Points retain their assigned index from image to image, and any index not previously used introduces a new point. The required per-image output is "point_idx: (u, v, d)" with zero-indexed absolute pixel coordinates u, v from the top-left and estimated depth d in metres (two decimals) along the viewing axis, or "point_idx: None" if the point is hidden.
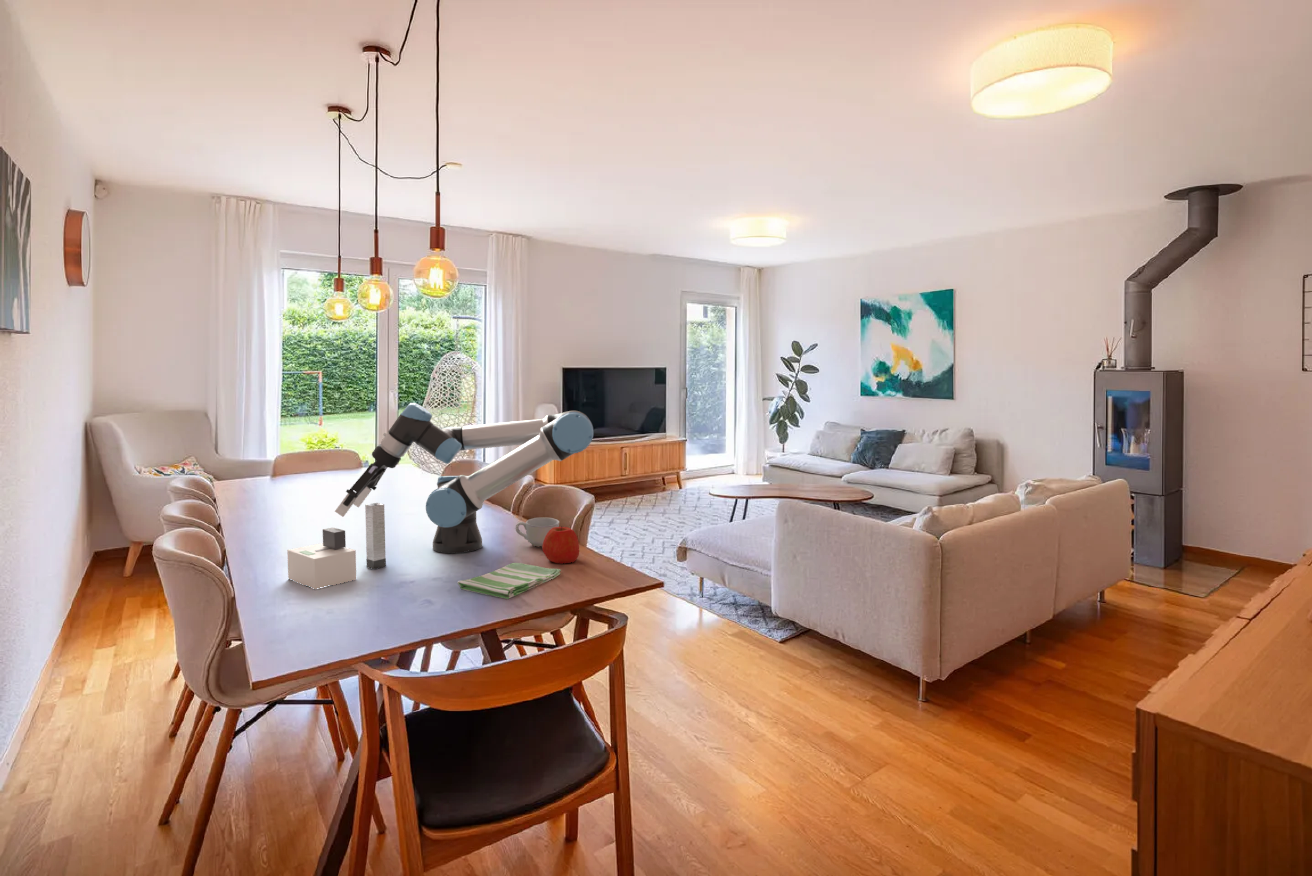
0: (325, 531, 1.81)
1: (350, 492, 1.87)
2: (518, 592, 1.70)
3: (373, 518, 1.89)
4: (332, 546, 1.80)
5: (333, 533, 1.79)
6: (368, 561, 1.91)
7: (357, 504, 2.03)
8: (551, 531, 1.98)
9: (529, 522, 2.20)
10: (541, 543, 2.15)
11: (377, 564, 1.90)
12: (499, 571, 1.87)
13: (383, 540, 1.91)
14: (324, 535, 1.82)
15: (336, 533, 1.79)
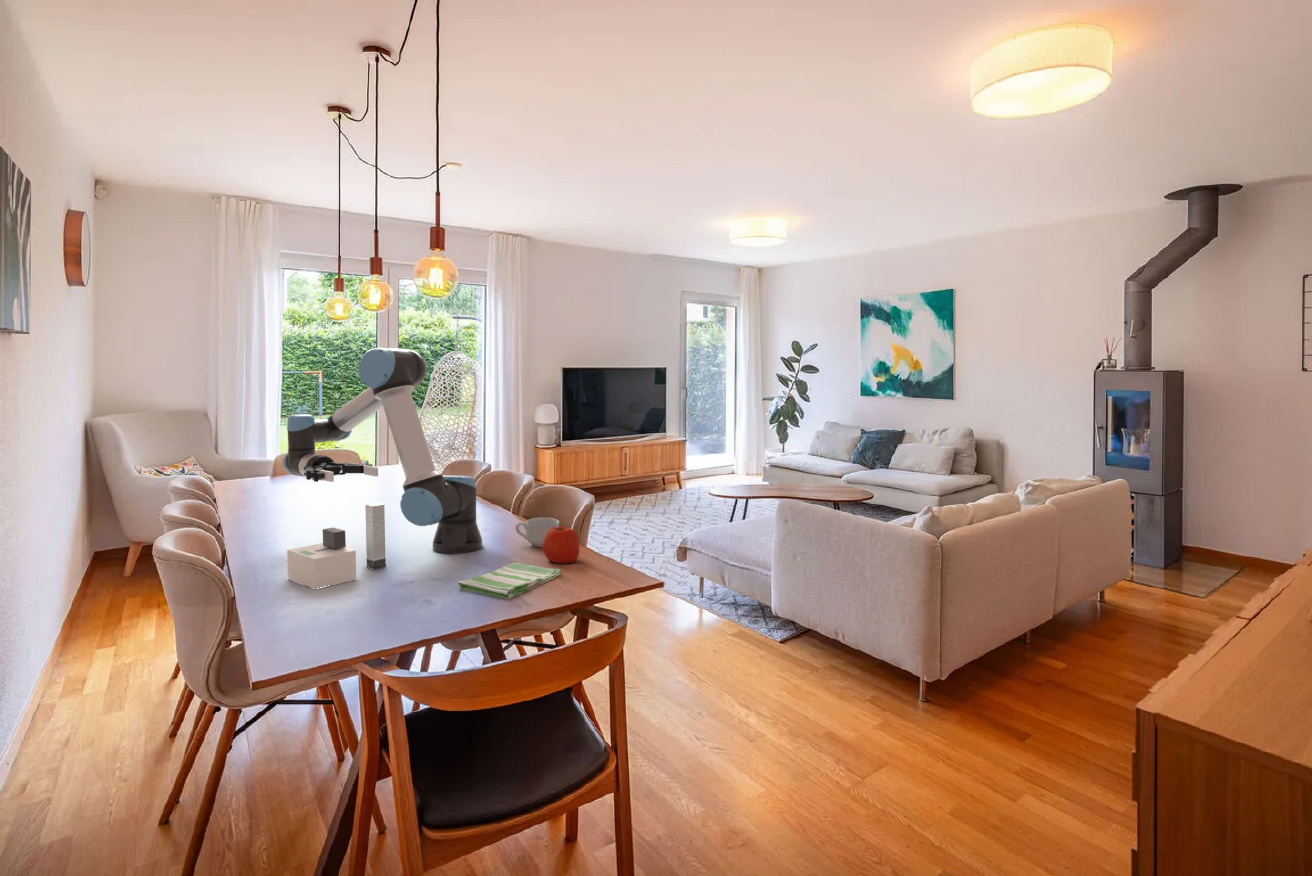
0: (325, 531, 1.81)
1: (306, 477, 1.92)
2: (518, 592, 1.70)
3: (373, 518, 1.89)
4: (332, 546, 1.80)
5: (333, 533, 1.79)
6: (368, 561, 1.91)
7: (374, 469, 2.01)
8: (551, 531, 1.98)
9: (529, 522, 2.20)
10: (541, 543, 2.15)
11: (376, 564, 1.90)
12: (499, 571, 1.87)
13: (383, 540, 1.91)
14: (324, 535, 1.82)
15: (336, 533, 1.79)
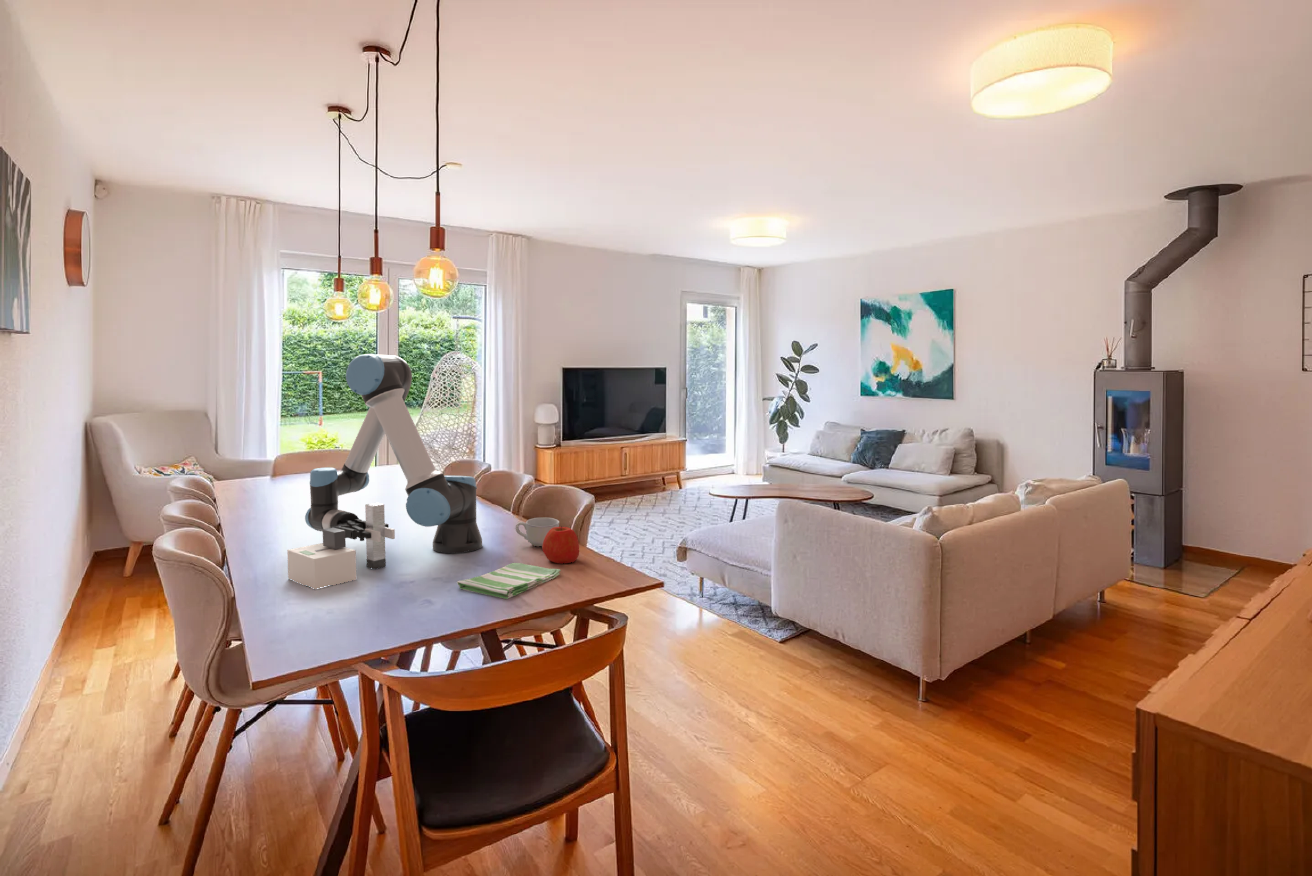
0: (325, 531, 1.81)
1: (352, 536, 1.88)
2: (517, 592, 1.70)
3: (373, 518, 1.89)
4: (332, 546, 1.80)
5: (333, 533, 1.79)
6: (368, 561, 1.91)
7: (390, 531, 1.90)
8: (551, 531, 1.98)
9: (529, 522, 2.20)
10: (541, 543, 2.15)
11: (376, 564, 1.90)
12: (499, 571, 1.87)
13: (383, 540, 1.91)
14: (324, 535, 1.82)
15: (336, 533, 1.79)
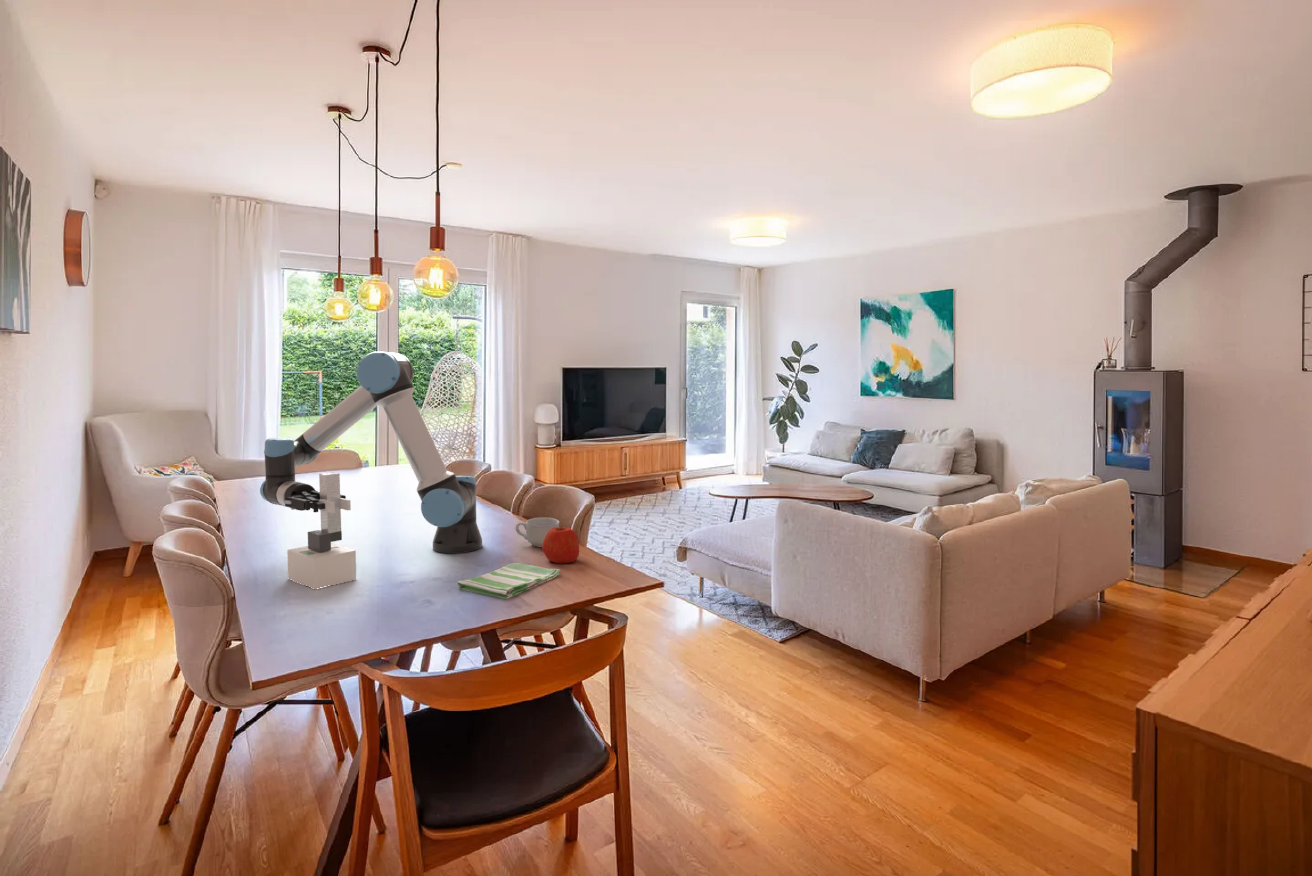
0: (310, 534, 1.78)
1: (305, 507, 1.77)
2: (517, 592, 1.70)
3: (327, 488, 1.77)
4: (317, 549, 1.76)
5: (318, 536, 1.75)
6: None
7: (346, 502, 1.79)
8: (551, 531, 1.98)
9: (529, 522, 2.20)
10: (541, 543, 2.15)
11: (331, 536, 1.79)
12: (499, 571, 1.87)
13: (338, 512, 1.80)
14: (309, 538, 1.78)
15: (321, 535, 1.76)
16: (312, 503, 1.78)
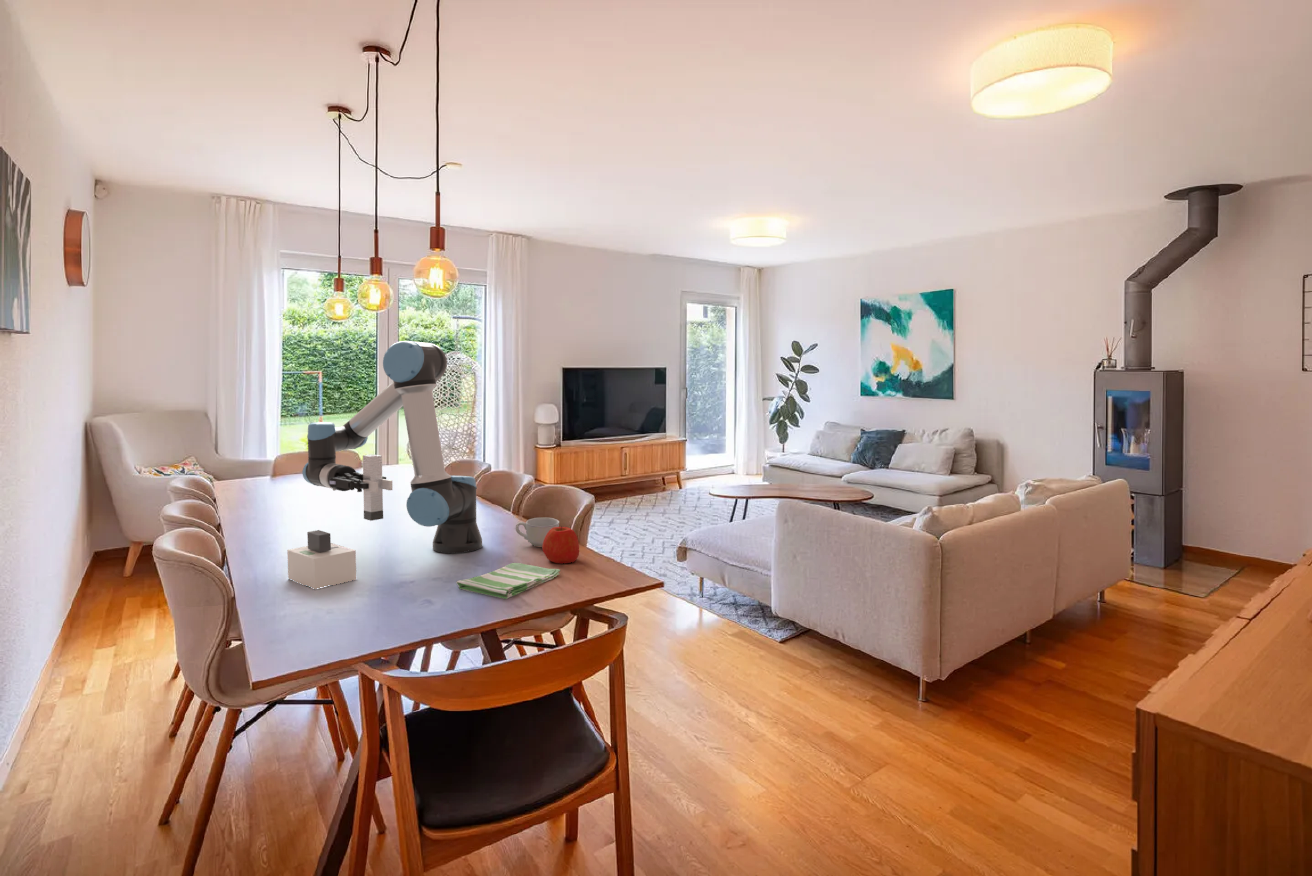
0: (310, 534, 1.78)
1: (350, 487, 1.87)
2: (516, 592, 1.70)
3: (370, 469, 1.87)
4: (316, 549, 1.76)
5: (318, 536, 1.75)
6: (365, 512, 1.90)
7: (388, 483, 1.89)
8: (551, 531, 1.98)
9: (529, 522, 2.20)
10: (541, 543, 2.15)
11: (374, 515, 1.89)
12: (498, 571, 1.87)
13: (380, 492, 1.90)
14: (308, 538, 1.78)
15: (321, 535, 1.76)
16: (356, 483, 1.88)
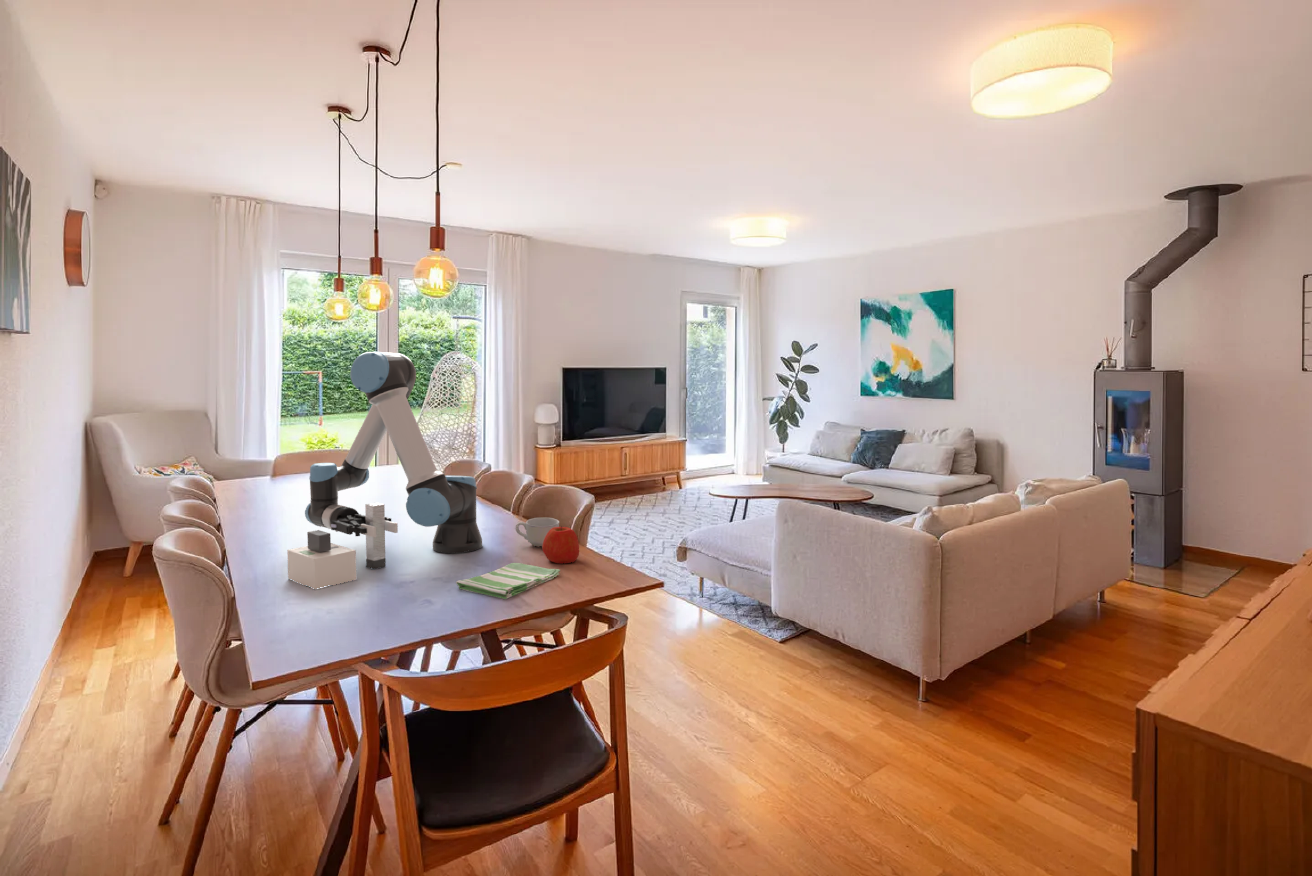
0: (310, 534, 1.78)
1: (348, 531, 1.87)
2: (516, 592, 1.70)
3: (373, 518, 1.89)
4: (316, 549, 1.76)
5: (318, 536, 1.75)
6: (368, 561, 1.91)
7: (393, 525, 1.91)
8: (551, 531, 1.98)
9: (529, 522, 2.20)
10: (541, 543, 2.15)
11: (376, 563, 1.90)
12: (498, 571, 1.87)
13: (383, 540, 1.92)
14: (308, 538, 1.78)
15: (321, 535, 1.76)
16: (354, 528, 1.88)
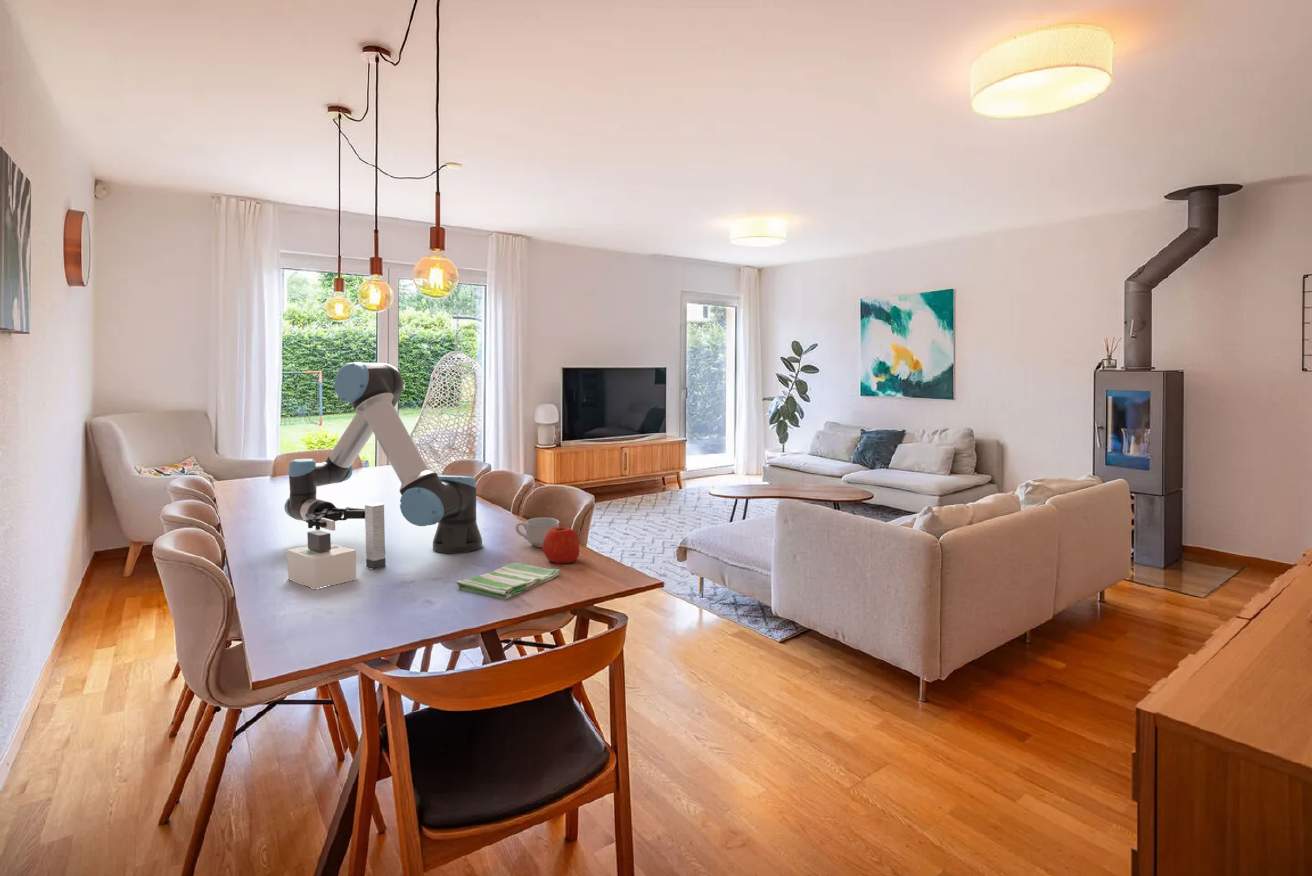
0: (310, 534, 1.78)
1: (308, 525, 1.93)
2: (516, 592, 1.70)
3: (373, 518, 1.89)
4: (316, 549, 1.76)
5: (318, 536, 1.75)
6: (368, 561, 1.91)
7: None
8: (551, 531, 1.98)
9: (529, 522, 2.20)
10: (541, 543, 2.15)
11: (376, 564, 1.90)
12: (498, 571, 1.87)
13: (383, 540, 1.92)
14: (308, 538, 1.78)
15: (321, 535, 1.76)
16: None
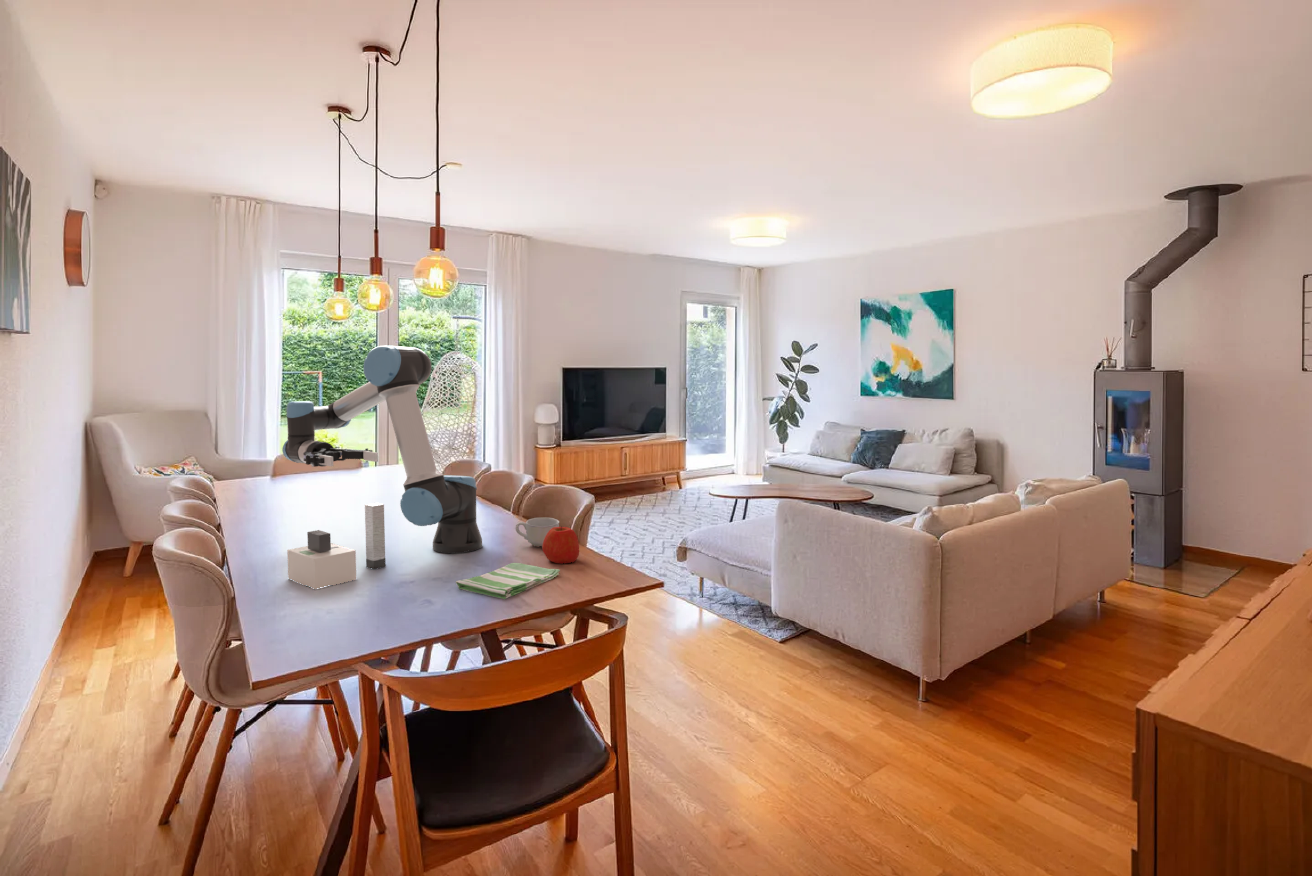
0: (310, 534, 1.78)
1: (306, 461, 1.92)
2: (515, 592, 1.70)
3: (373, 518, 1.89)
4: (316, 549, 1.76)
5: (318, 536, 1.75)
6: (368, 561, 1.91)
7: (374, 455, 2.01)
8: (551, 531, 1.98)
9: (529, 522, 2.20)
10: (541, 543, 2.15)
11: (376, 564, 1.90)
12: (498, 571, 1.87)
13: (383, 540, 1.92)
14: (308, 538, 1.78)
15: (321, 535, 1.76)
16: None
